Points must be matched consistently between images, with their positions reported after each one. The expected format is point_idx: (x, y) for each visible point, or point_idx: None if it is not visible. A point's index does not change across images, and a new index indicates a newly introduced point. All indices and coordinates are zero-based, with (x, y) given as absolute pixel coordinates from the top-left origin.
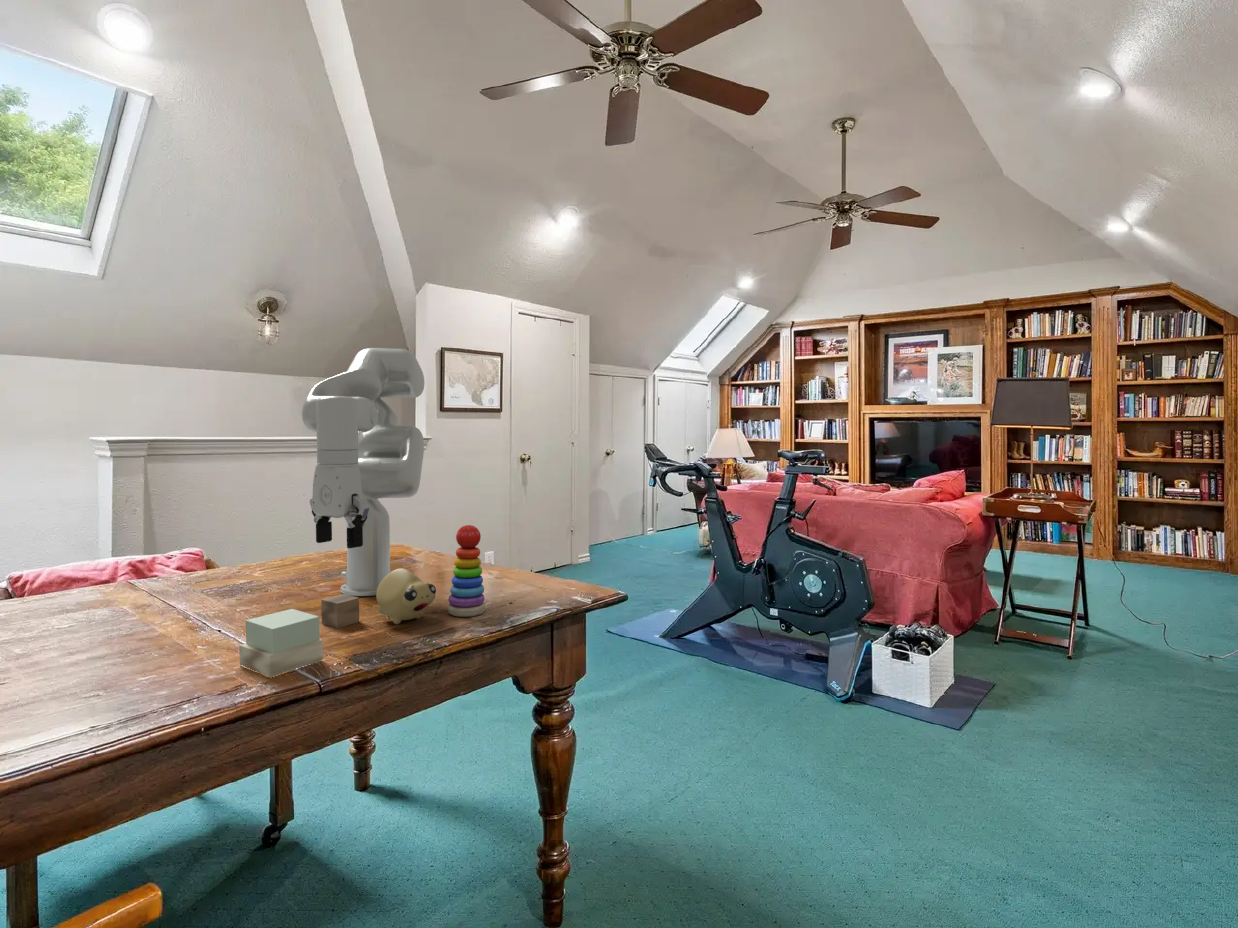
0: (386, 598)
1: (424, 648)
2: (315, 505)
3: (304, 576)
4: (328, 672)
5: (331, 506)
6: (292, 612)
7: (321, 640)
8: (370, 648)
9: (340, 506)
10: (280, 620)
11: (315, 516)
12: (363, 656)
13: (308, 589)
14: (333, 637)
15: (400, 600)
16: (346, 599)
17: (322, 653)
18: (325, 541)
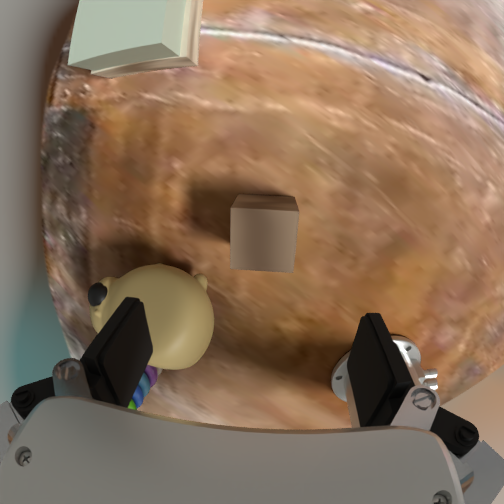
0: (146, 277)
1: (50, 209)
2: (409, 490)
3: (496, 349)
4: (73, 67)
5: (120, 489)
6: (133, 32)
7: (91, 72)
8: (96, 158)
9: (26, 453)
10: (109, 1)
11: (431, 415)
12: (79, 131)
13: (466, 320)
14: (193, 152)
15: (116, 280)
16: (242, 243)
17: (104, 76)
18: (354, 341)
